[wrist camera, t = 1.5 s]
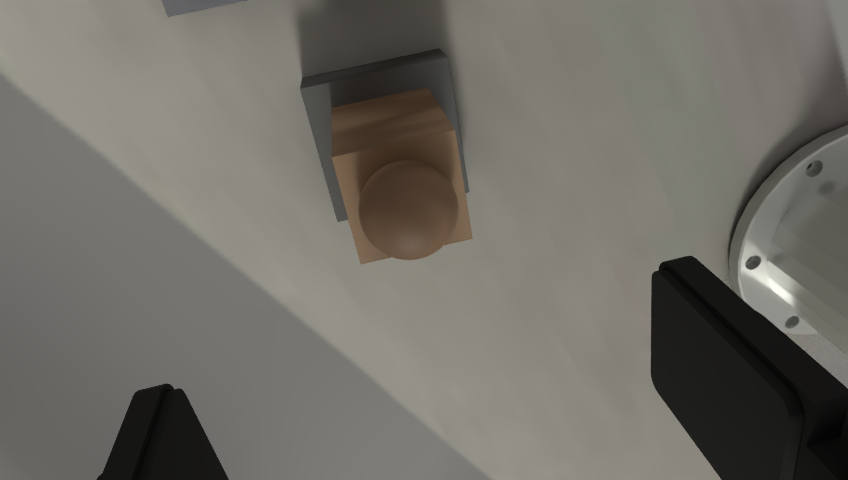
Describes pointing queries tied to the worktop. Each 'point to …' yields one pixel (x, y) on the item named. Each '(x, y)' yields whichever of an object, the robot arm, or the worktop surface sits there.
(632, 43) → the worktop surface
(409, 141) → the stamp
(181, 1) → the ink pad
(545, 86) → the worktop surface
